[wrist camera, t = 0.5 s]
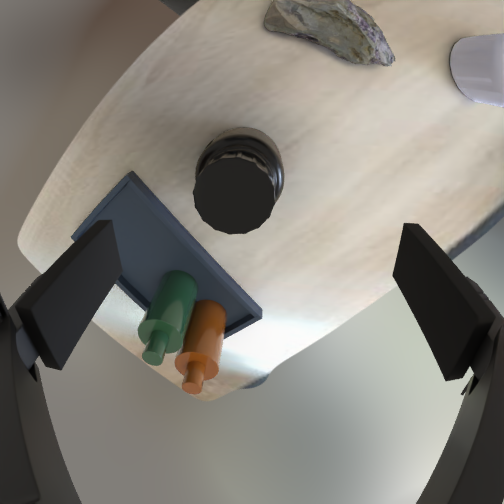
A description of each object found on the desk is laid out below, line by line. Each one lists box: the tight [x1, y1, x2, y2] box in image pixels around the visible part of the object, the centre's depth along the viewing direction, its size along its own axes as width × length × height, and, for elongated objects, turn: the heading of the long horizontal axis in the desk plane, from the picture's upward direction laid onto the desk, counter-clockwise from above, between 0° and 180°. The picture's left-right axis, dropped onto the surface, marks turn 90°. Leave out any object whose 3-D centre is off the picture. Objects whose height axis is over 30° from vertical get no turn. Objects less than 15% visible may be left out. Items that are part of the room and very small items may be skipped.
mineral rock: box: [264, 0, 395, 66], centre depth 24 cm, size 13×11×10 cm
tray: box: [71, 171, 262, 339], centre depth 43 cm, size 27×14×2 cm, turn 38°
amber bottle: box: [175, 300, 227, 394], centre depth 41 cm, size 6×6×14 cm
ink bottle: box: [193, 127, 284, 234], centre depth 31 cm, size 10×9×12 cm
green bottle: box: [138, 270, 199, 366], centre depth 38 cm, size 6×6×14 cm
